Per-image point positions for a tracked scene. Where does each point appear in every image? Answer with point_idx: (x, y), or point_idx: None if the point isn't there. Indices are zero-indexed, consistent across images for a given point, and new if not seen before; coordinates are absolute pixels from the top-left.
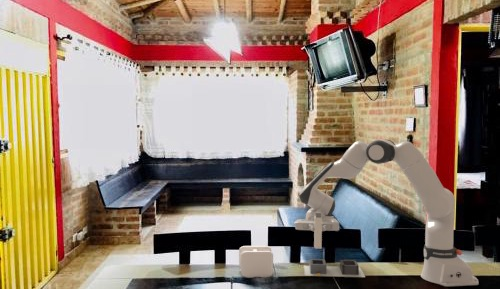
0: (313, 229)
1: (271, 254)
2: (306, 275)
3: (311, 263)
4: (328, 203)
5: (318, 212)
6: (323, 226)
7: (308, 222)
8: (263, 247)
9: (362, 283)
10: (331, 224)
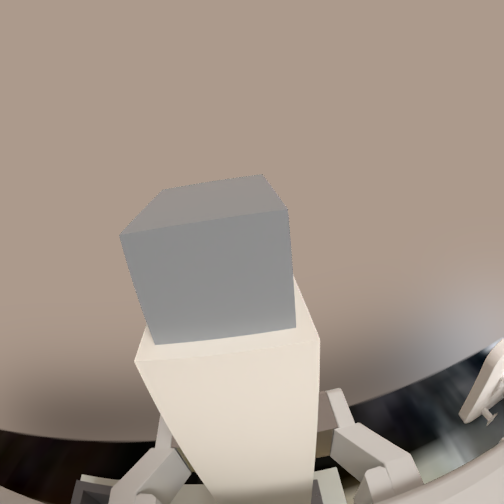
0: None
1: (490, 353)
2: (330, 469)
3: (314, 499)
4: None
5: (201, 193)
6: (167, 444)
7: (441, 490)
8: None
9: (110, 448)
10: (35, 500)
